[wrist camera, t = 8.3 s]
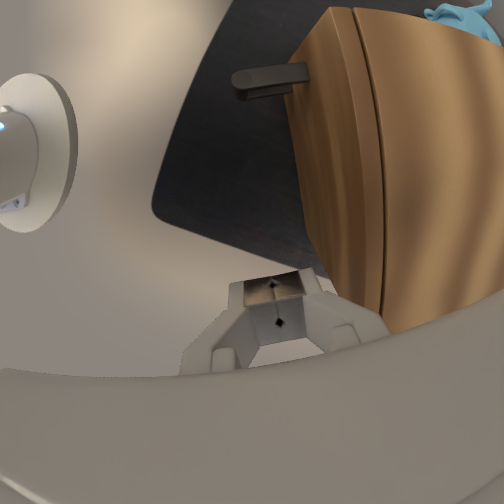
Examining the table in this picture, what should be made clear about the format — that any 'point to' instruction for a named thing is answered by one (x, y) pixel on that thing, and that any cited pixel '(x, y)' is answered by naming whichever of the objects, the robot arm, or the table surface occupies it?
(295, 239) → the table surface
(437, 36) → the cupboard
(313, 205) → the door
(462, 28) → the teapot
